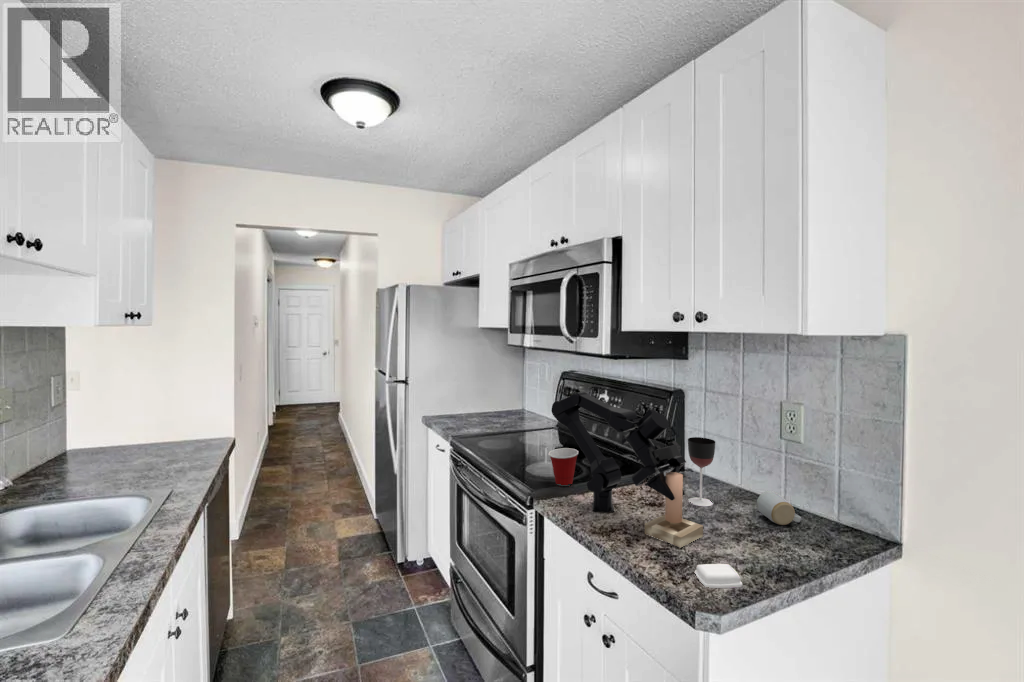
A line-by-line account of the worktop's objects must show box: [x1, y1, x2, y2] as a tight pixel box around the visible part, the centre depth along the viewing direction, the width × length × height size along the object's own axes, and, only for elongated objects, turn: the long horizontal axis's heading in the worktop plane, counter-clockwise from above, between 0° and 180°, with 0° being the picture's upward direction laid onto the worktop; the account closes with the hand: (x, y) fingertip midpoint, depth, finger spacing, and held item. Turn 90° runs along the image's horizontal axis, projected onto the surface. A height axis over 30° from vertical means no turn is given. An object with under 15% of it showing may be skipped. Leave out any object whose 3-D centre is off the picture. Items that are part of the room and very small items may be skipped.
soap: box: [694, 563, 743, 589], centre depth 110 cm, size 9×7×3 cm
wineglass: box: [687, 436, 716, 507], centre depth 156 cm, size 8×9×20 cm
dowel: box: [664, 472, 684, 523], centre depth 132 cm, size 4×4×12 cm
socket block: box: [644, 514, 704, 549], centre depth 132 cm, size 11×11×3 cm
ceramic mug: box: [756, 490, 802, 526], centre depth 142 cm, size 11×8×8 cm
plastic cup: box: [548, 447, 579, 485], centre depth 173 cm, size 11×11×12 cm
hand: (678, 497), depth 131 cm, fingers closed on dowel, 4 cm apart
